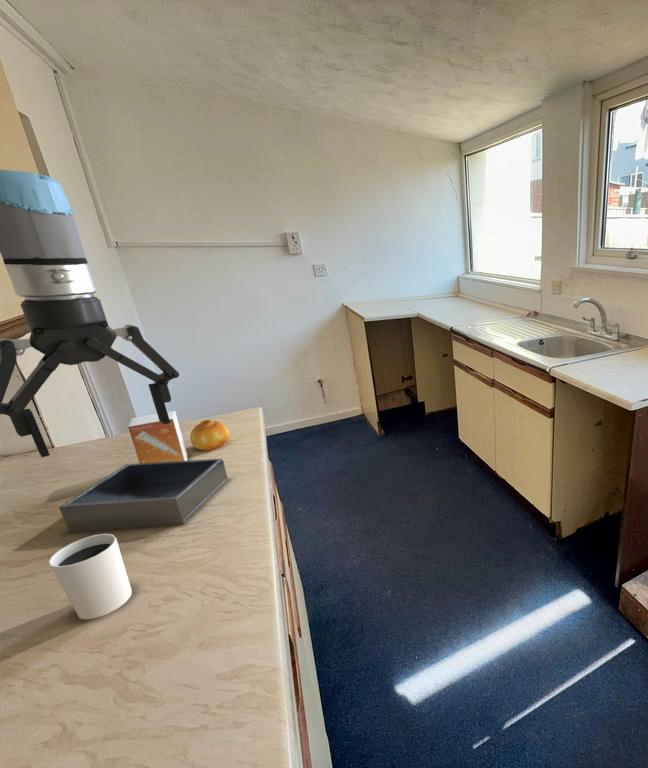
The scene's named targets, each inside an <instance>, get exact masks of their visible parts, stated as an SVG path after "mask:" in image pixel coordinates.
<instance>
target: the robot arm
mask: <svg viewBox="0 0 648 768" xmlns="http://www.w3.org/2000/svg"><path fill="white" fill-rule="evenodd" d="M0 255H1V258H2V261H3V264H4V266H5V269H6V272H7V274H8V277H9V279H10V283H11V284H12V287H13V290H14V293H15V295H16V296H18V297H20V298H24V300H22V301H21V303H20V304H19V305H20V309H21V310H22V313H23V316H24V318H25V321H26V323H27V326H28V329H29V331H30V336H29V338H15V339H10V338H7V337H1V338H0V415H5V416H8V417H9V418H10V421H11V423H12V425H13V428H14V430H15V432H16V434H17V435H18V436H19V437H22V438H23V437H27V436H30V435H31V438H32V439H33V443H34V444H35V446H36V449H37V451H38V454H39V456H40V457H41V458H45V457H49V456H51V454H50V452H49V449H48V447H47V444H46V443H45V440H44V437H43V435H42V432H41V430H40V428H39V424H38V423H37V421H36V418H35V416H34V413H33V411H32V410H31V409H30V408H26V407H27V406H28V405H29V404H30V402H31V401H32V400H33V398H34V397H35V396H36V394H37V393H38V392H39V390H40V389H41V388H42V386H44V384H45V383H46V381H47V380H48V379H49V378H50V376H51V375H52V373H53V372H55V371H56V370H57V368H58V367H59V366H60V365H61V364H62V365H66V366H67V365H68V366H75V365H79V364H82V363H95V362H100V360H102V359H104V358H105V357H106V356H107V357H108V358H110V359H112V360H113V361H115V362H118V363H119V364H121V365H123V366H124V367H126V368H128V369H130V370H132V371H134V372H136V373H138V374H139V375H142V376H143V377H145V378H147V379H148V380H150V381H153V383H148V384H147V385H148V388H149V392H150V394H151V399H152V402H153V405H154V408H155V410H156V414H157V415H158V418H159V421H161V422H162V423H164V424H168V423H170V420H169V416H168V413H167V412H168V410H167V407H166V403H169V402H170V403H171V401H172V396H171V393H170V392H171V391H170V389H169V386H168V384H169V382H170V381H172V380H174V379H177V378H179V376H180V372H179V371H177V370H176V369H175V368H174V366H172V365H171V363H169V362H168V361H167V360H166V358H164V357H163V356H162V355H161V354H160V353H159V352H157V350H156V349H154V348H153V346H152V345H150V344H149V343H148V342H147V341H146V340H145V339H144V337H143V335H142V332H141V330H140V328H139V327H138V326H135V325H133V324H125V326H124V327H118V328H113V329H112V327H110V325H109V323H108V319H107V317H106V313H105V310H104V308H103V304H102V302H101V299H100V298H98V297H97V296H94V295H93V294H96V293H97V292H98V289H97V287H96V284H95V281H94V277H93V274H92V272H91V269H90V266H89V264H88V259H87V257H86V253H85V250H84V247H83V244H82V240H81V237H80V234H79V230H78V228H77V224H76V222H75V218H74V211H73V209H72V208H71V206H70V203H69V201H68V198H67V196H66V193H65V191H64V189H63V186H62V185H61V183H60V182H58V180H56V179H54V178H53V177H51V176H48V175H45V174H40V173H35V172H29V171H28V172H27V171H19V170H9V169H0ZM117 337H120V338H122V339H123V340H124V341H126V342H131V344H132V345H133V346H134V347H136V348H137V349H138V350H139V351H140V352H141V353H142V354H143V355H144V356H145V357H146V358H148V360H150V361H151V362H152V363H153V364H154V365H155V366H156V367H157V368H158V369H159V370H160V371H162V372H161V373H159V374H158V373H157V372H155V371H153V370H151V369H149V368H148V367H145V365H142V364H140V362H137V361H135V360H134V359H132V358H130V357H128V356H126V355H124V354H122V353H121V352H119V351H117V350H115V349H113V348H112V346H113V344H114V342H115V341H116V339H117ZM28 348H33V349H34V350H36V351H38V352H39V353H41V354H43V355H42V358H41V359H40V360H39V361H38V363H37V365H36V367H35V368H34V369H33V370H32V371H31V373H30V374H29V376H28V377H27V378H26V379H25V380H24V382H23V383H22V385H21V386H20V387H19V388H18V389H17V391H16V392H15V393H14V395H13V396H12V397H11V398H10V399H9V401H8V402H3V401H4V398H5V395H6V393H7V389H8V388H9V387H8V386H9V384H10V381H11V378H12V376H13V373H14V369H15V366H16V364H17V359H18V358H17V357H18V356H19V357H20V356H22V355H24V354H25V352H26V350H27V349H28Z"/></svg>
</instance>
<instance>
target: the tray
mask: <svg viewBox="0 0 648 768" xmlns="http://www.w3.org/2000/svg"><path fill="white" fill-rule="evenodd" d="M228 481H229V479H228V474H227V470H226V467H225V462H224V458H207V459H193V460H192V459H190V460H189V459H188V460H187V461H172V462H155V463H139V462H138V463H126V464H124V465H123V466H120V467H119V468H118V469H116V470H115V471H113V472H112V473H110V474H109V475H107V476H105V477H104V478H102V479H101V480H99V481H98V482H96V483H95V484H93V485H92V486H90V487H88V488H87V489H85V490H83V491H82V492H80V493H79V494H77V495H75V496H74V497H73V498H71V499H69V500H67V501H66V502H64V503H62V504H61V505H60V506H58V508H59V510H60V513H61V515H62V518H63V520H64V522H65V525H66V527H67V529H68V531H69V533H70V534H75V533H86V532H87V533H88V532H101V531H112V530H113V531H114V530H128V529H139V528H152V527H153V528H154V527H165V526H166V527H167V526H178V525H179V526H181V525H185V524H186V523H187V522H188V521H189V520H190V519H192V517H193V516H194V515H195V514H196V513H197V512H199V510H200V509H201V508H202V507H203V506H204V505H205V504H207V502H208V501H210V500H211V498H212V497H213V496H214V495H216V494H217V493H218V492H219V491H220V490H221V489H222V487H224V485H226V484H227V483H228Z"/></svg>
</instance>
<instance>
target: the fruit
mask: <svg viewBox="0 0 648 768" xmlns="http://www.w3.org/2000/svg"><path fill="white" fill-rule="evenodd" d="M189 436H190V437H189V440H190V443H191V445H192V446H193V447H195V448H196V449H198V450H201V451H212V450H216V449H218V448H220V447H222V446H224V445H225V444H226V443H227V442H228V441H229V439H230V430H229V428H228V427H227V425H225V424H224V423H222V422H220V421H218V420H212V419H204V420H201V421H200V422H199V423H198V424H196V425H195V426H194V427H193V428H192V430H191V432H190V435H189Z"/></svg>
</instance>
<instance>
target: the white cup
mask: <svg viewBox="0 0 648 768" xmlns="http://www.w3.org/2000/svg"><path fill="white" fill-rule="evenodd" d="M48 564H49V566H50V568H51V570H52V571H53V572H54V575H55V577H56V578H57V580H58V582H59V584H60V586H61V588H62V589H63V591H64V593H65V595H66V597H67V598H68V600H69V602H70V604H71V605H72V607H73V609H74V611H75V613H76V615H77V616H78V618H79V619H81V620H87V621H88V620H93V619H98V618H100V617H103V616H107V615H108V614H110V613H112V612H114V611H116V610H117V609H119V608H120V607H121V606H123V605H124V604H126V602H127V601H128V600H129V599H130V598H131V597H132V596H131V595H132V593H133V591H132V587H131V583H130V580H129V577H128V573H127V569H126V567H125V563H124V560H123V556H122V553H121V550H120V546H119V542H118V540H117V537H116V536H115V535H114V534H111V533H100V534H94V535H90V536H87V537H84V538H83V537H82V538H81V539H78V540H76V541H74V542H71V543H69V544H67V545H66V546H63V547H62V548H61V549H59V550H58V551H56V552H55V553H54V554H53V555H52V556H51V557H50V559H49V560H48Z"/></svg>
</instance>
